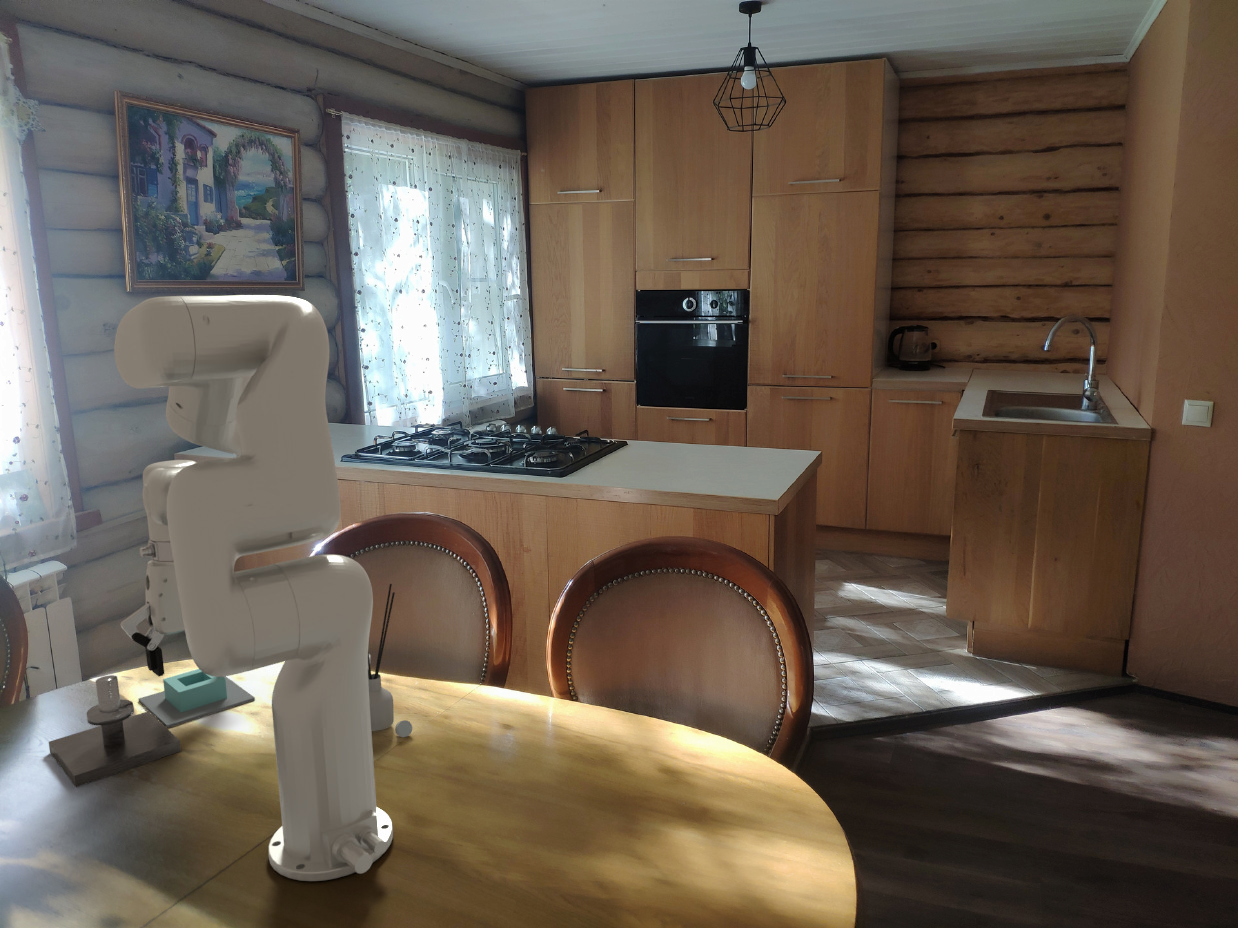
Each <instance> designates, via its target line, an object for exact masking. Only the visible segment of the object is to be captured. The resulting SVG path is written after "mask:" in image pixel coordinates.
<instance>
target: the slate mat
mask: <svg viewBox="0 0 1238 928" xmlns="http://www.w3.org/2000/svg"><path fill="white" fill-rule="evenodd" d="M223 677H224V678H225V680H226V690H227V698H225V699H222V700H219V701H216V702H213V703H209V704H206V705H203V706H200V707H197V708H193V709H190V710H187V711H184V712H180V711H179V710H178V709H177V708H176V707H174V706H173V705H172V704H171V703H170V702H169V701H168V700H166V699H165V692H164V690H163V691H159V692H156V693H154V694H150V695H147V696H143V697H139V698H138V703H140V704H141V705H142V706H143V707H145V708H146V710H147V711H149V712H150V713H151V714H152V715H153V716H154V717H155V718H156V719H158V720H159V721H160V722H161V723H162V724H163V725H164V726H165V727H166V728H167V729H169V728H174V727H175V726H179V725H181V724H184V723H185V724H186V723H188V722H192V721H194V720H198V719H201V718H203V717H207V716H209V715H214V714H215V713H216V714H217V713H219V712H223V711H225V710H228V709H230V708H235V707H237V706H240V705H243V704H244V705H245V704H246V703H250V702H253V701H255V699H256V697H255V696H253V695H252V694H250V693H249V692H248V691H246V690H245V689H244V688H242V687H241V686H239V685H238V684H237V683H236V682H234V681H233V680H231V679H230V678H228V676H223Z"/></svg>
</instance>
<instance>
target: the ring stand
mask: <svg viewBox="0 0 1238 928" xmlns="http://www.w3.org/2000/svg"><path fill="white" fill-rule="evenodd" d="M95 686H96V687H95V688H96V695H97V696H96V697H97V704H96V705H94V706H92V707H91V708H89V709H88V710H87V711H86V720H87V723H88V724H89V725H92V726H95V727H92V728H90V729H85V730H83V731H80V732H76V733H73V734H70V735H66V736H63V737H59V738H56V739H53V740H50V741H48V746H49V747H48V748H49V753H50V755H51V756H52V757H53V759H54V760H55V762H56V763H57V765H59V767H60V768H61V769H62V771H63V772H64V774H65V775H66V776H67V778H69V780H70V781H71V783H72V784H73V786H74V787H75V788H78V787H81V786H83V785H87V784H90V783H93V782H95V781H98V780H101V779H104V778H107V777H110V776H113V775H116V774H119V773H122V772H125V771H127V770H130V769H129V768H131V769H133V768H137V767H139V766H142V765H146V764H147V763H150V762H154V761H157V760H160V759H163V758H166V757H169V756H171V755H174V754H177V753H179V752H182V748H181V740H180V739H179V738H178V737H177V736H175V734H174V733H173V732H172V731H170V730H169V728H167V727H166V726H165V725H164V724H162V723H161V722H160V721H159V720H158V719H157V718H156V717H155V716H154V715H153V714H152V713H151V712H150V711H149V710H147V711H145V712H142V713H138V714H134V713H135V709H134V708H135V707H134V703H133V701H132V700H129V699H121V698H120V697H121V696H120V688H119V680H118V676H117V675H114V674H113V675H112V674H111V675H105V676H101V677H98V678H97V679H96V680H95ZM165 756H166V757H165ZM162 757H163V758H162ZM156 759H157V760H156ZM124 770H125V771H124ZM118 772H119V773H118ZM115 773H116V774H115Z"/></svg>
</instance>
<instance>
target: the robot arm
mask: <svg viewBox="0 0 1238 928" xmlns="http://www.w3.org/2000/svg"><path fill="white" fill-rule="evenodd" d="M113 351H114V353H113V354H114V361H115V365H116V368H117V371H118V373H119V375H120V377H121V379H122V380H123V381H124V383H125V384H126V385H128V386H130V387H131V388H135V389H150V388H151V389H152V388H165V387H166V388H167V387H168V396H167V401H166V408H165V418H166V419H165V420H166V422H167V424H168V426H169V428H170V430H172V431H173V433H175V434H176V435H177V436H179V437H180V438H181V439H183V440H185V441H186V442H190V443H192V444H194V445H198V446H200V447H205V448H207V449H211V450H216V451H220V452H222V453H223V452H224V453H227V454H231V455H235V457H230V458H229V457H228V458H220V459H214V460H213V459H211V460H204V461H199V462H196V461H195V460H191V459H190V460H189V459H173V460H165V461H158V462H154V463H151V464H148V465H147V466H146V467H145V468H144V470H143V472H142V484H143V488H142V503H143V508H144V511H145V514H146V520H147V525H148V526H147V527H148V528H147V529H148V536H149V539H148V541H147V542H148V543H147V545H145V546H142V547H140V548H139V555H140V557H141V558H145V557H147V558H150V559H151V560H149V561H148V562H147V565H146V573H145V574H146V575H145V604H144V605H142V606H140V608H139V609H136V611H134V612H133V613H131V614H130V615H129V616H127V617H126V618H125V619H123V620H122V621H121V622H120V624H119V625H120V627H121V629H122V630H123V631H124V632H125V633H126V635H127V636H128V637H129V638H130V639H131V640H132V641H134V642H135V643H137V644H138V645H140V646H142V647H144V648H145V657H146V665H147V668H148V670H149V671H150V672H151V671H152V673H153V674H155V676H157V677H163V676H164V675H165V667H164V659H163V658H164V657H163V651H162V648H161V647H159V644H160V643H161V641H162V640H163V638H164V637H165V635H167V636H168V635H175V634H178V633H182V632H185V639H186V641H187V647H188V649H189V652H190V655H191V659H192V661H193V662H194V664H195V665H196V667H197V668H198V669H200V670H201V671H202V672H204V673H205V674H207V675H210V676H215V677H223V676H226V677H228V676H230V677H231V676H233V675H238V674H242V673H247V672H250V671H255V670H257V669H262V668H265V667H269V666H272V665H277V664H279V663H283V665H282V667H281V668H280V671H279V673H278V676H277V678H276V679H275V682H274V686H273V690H272V694H271V712H272V713H271V714H272V725H273V738H274V748H275V749H274V751H275V759H276V770H277V771H276V772H277V781H278V783H277V784H278V795H279V804H280V814H281V815H280V816H281V826H280V827H279V828H278V829H277V831H275V833H274V834H273V835H272V837H271V839H270V840H269V842H268V846H267V849H268V860H269V864H270V866H271V867H272V869H273V870H274V871H276V872H277V873H278V874H280V875H281V876H284V877H286V878H288V879H292V880H297V881H302V882H303V881H304V882H319V881H320V882H323V881H328V880H334V879H339V878H341V877H345V876H349V875H352V874H354V873H357V874H360V875H361V874H364V873H366V872H367V871H369V869H370V868H371V866H372V865H373V863H374V862H376V861H377V860H378V859H379V858H380V857H382V855H383V854H385V852H386V851H387V850H388V849H389V847H390V845H391V844H392V842H393V841H392V840H393V838H394V829H393V828H394V827H393V821H392V819H391V817H390V815H388V813H386V812H385V811H384V810H382V809H380V808H379V807H377V795H376V780H375V767H374V751H373V750H374V749H373V734H372V733H373V731H371V717H370V700H369V684H368V650H369V640H370V633H371V625H372V624H371V623H372V617H373V608H374V596H373V588H372V583H371V580H370V577H369V575H368V573H367V571H366V570H365V568H364V567H363V566H362V565H361V564H360V563H359V562H358V561H356V560H354V559H353V558H351V557H348V556H345V555H341V554H317V555H312V556H311V555H309V556H305V557H299V558H296V559H290V560H285V561H281V562H275V563H270V564H268V565H263V566H258V567H252V568H249V569H243V570H239V571H235V564H236V561H237V560H238V559H239V558H240V557H244V556H248V555H254V554H258V553H265V552H269V551H275V550H279V549H284V548H290V547H295V546H300V545H303V544H304V545H305V544H308V543H313V542H316V541H318V540H321V539H324V538H326V537H329V536H330V535H331V534H332V533H334V532H335V530H337V528H338V526H339V525H340V520H341V513H342V506H341V503H342V502H341V494H340V486H339V481H338V474H337V473H338V472H337V469H336V461H335V455H334V450H333V443H332V437H331V432H330V431H331V430H330V426H329V421H328V415H327V407H326V392H327V391H326V388H327V380H328V372H329V363H330V342H329V333H328V329H327V326H326V324H325V321H324V319H323V316H322V314H321V313H320V312H319V309H317V308H316V307H315V306H314V304H312V303H311V302H309V301H307V300H305V299H302V298H297V297H295V296H288V295H287V296H285V295H273V294H272V295H269V294H267V295H265V294H253V295H252V294H246V295H245V294H235V295H231V294H230V295H176V296H175V295H174V296H173V295H171V296H170V295H169V296H157V297H150V298H147V299H145V300H143V301H141V302H140V303H139V304H137V305H136V306H134V307H132V308H131V309H130V310H128V311H127V312H126V313H125V314H124V315H123V317H122V318H121V320H120V322H119V324H118V327H117V329H116V332H115V338H114V345H113ZM145 619H146V620H147V625H148V626H149V628H148V629H147V632H146V633H145V634H143V633H141V632H140V631H139V630H138V629H137V626H138V625H139V624H140V623H141V622H142V621H144V620H145Z"/></svg>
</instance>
